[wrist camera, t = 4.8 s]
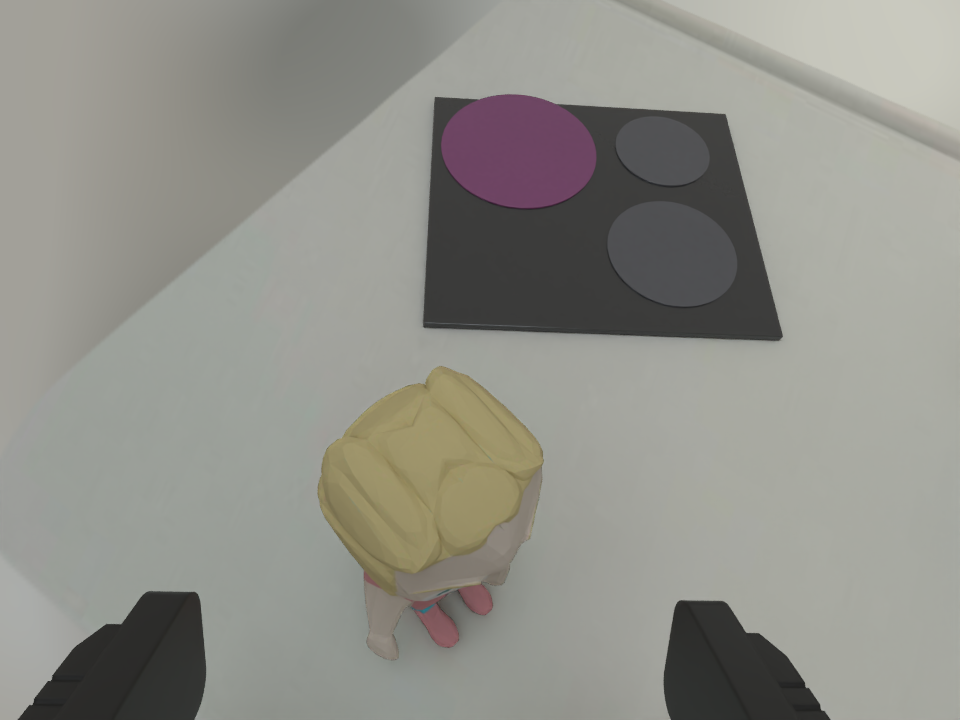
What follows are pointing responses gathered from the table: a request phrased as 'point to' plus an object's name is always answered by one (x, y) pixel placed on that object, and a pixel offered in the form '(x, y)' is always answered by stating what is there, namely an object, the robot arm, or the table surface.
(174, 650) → the robot arm
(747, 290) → the hob
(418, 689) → the table surface
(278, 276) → the table surface
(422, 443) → the toy
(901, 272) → the table surface
